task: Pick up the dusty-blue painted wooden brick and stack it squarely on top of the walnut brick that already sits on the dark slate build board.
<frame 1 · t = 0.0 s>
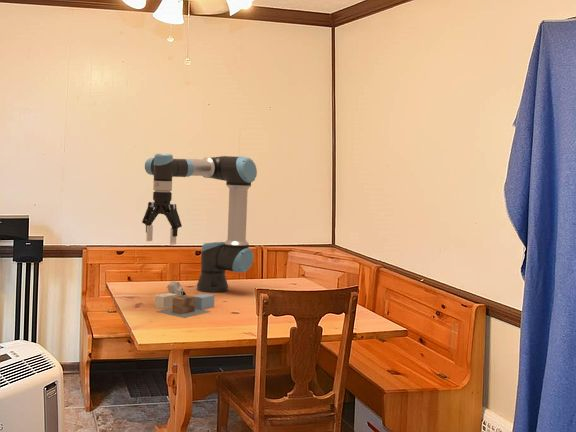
hand: (161, 242, 287), 28 cm above the table, fingers open, 13 cm apart
build board: (183, 313, 283), on the table
brick top: (203, 309, 293), on the table
toy: (175, 302, 305), on the table
brick base: (183, 311, 283), point 1 cm above the table, touching build board
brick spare: (165, 308, 291), on the table
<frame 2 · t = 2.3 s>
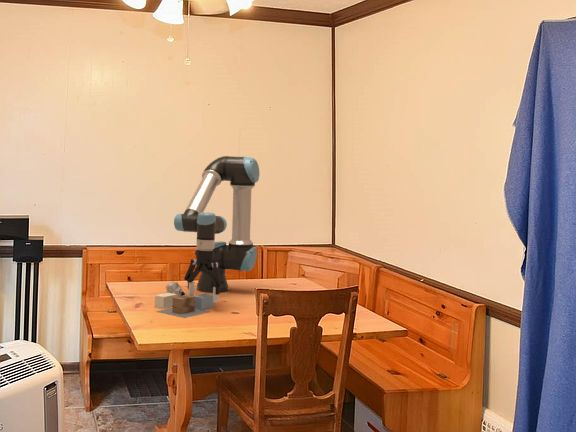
hand: (203, 299, 292), 4 cm above the table, fingers open, 13 cm apart
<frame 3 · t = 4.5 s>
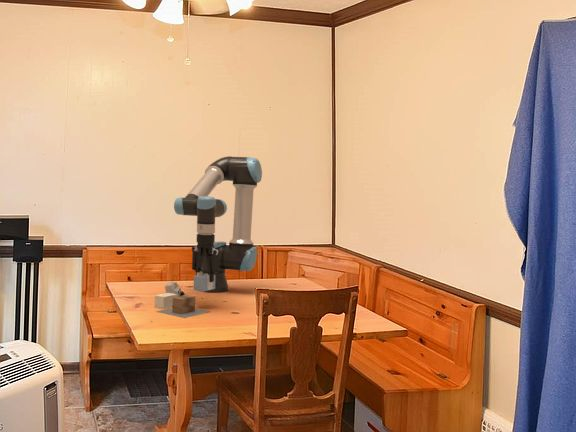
hand: (204, 288, 293), 9 cm above the table, fingers closed on brick top, 5 cm apart
brick top: (204, 289, 293), point 8 cm above the table, touching gripper
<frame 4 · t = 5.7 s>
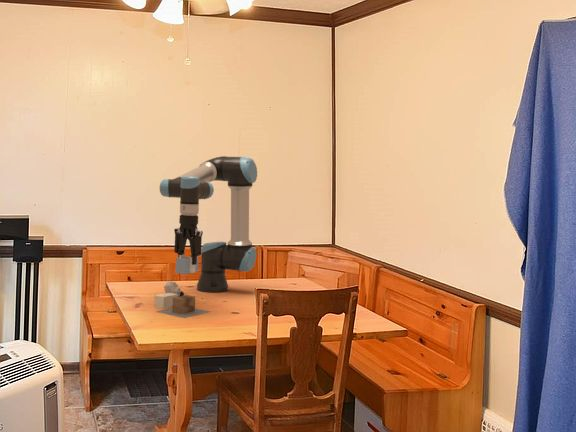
hand: (186, 271, 282), 17 cm above the table, fingers closed on brick top, 5 cm apart
brick top: (186, 272, 282), point 17 cm above the table, touching gripper
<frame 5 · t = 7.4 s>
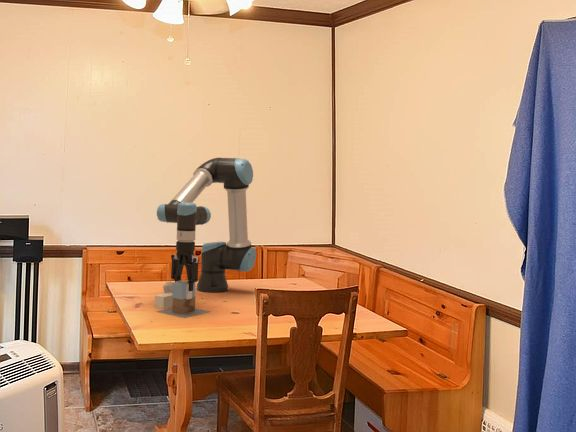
hand: (183, 297, 282), 7 cm above the table, fingers closed on brick top, 5 cm apart
brick top: (183, 297, 282), point 7 cm above the table, touching brick base, gripper
brick base: (183, 311, 283), point 1 cm above the table, touching brick top, build board
when the fingers open (7 cm above the table, at t = 7.4 s): brick top stays where it is, resting on brick base.
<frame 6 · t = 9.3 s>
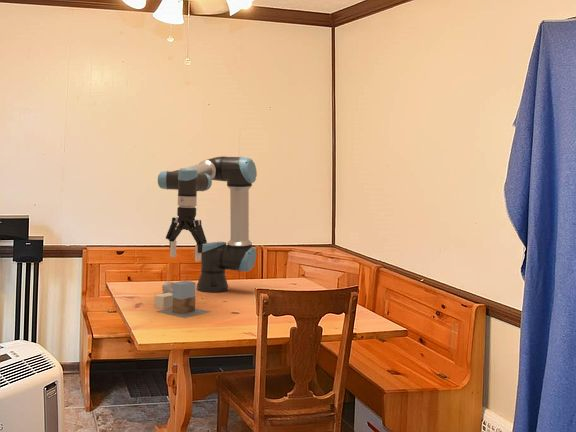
hand: (185, 259, 281), 23 cm above the table, fingers open, 13 cm apart
brick top: (183, 297, 282), point 7 cm above the table, touching brick base
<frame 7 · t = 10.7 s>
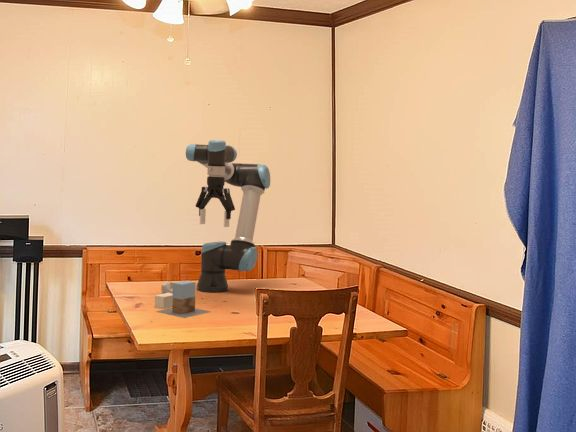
hand: (214, 225, 300), 35 cm above the table, fingers open, 13 cm apart
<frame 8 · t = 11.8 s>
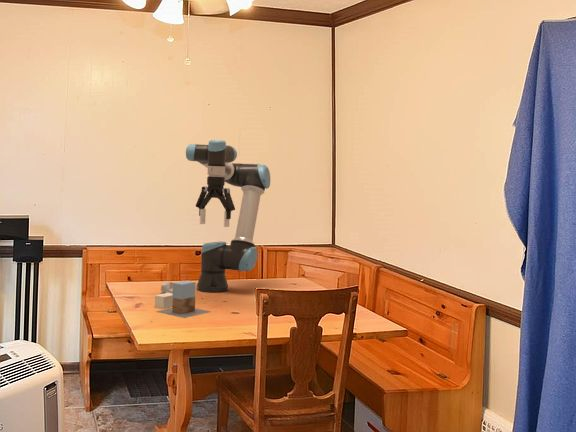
hand: (214, 225, 301), 35 cm above the table, fingers open, 13 cm apart
at the end: brick top 0.2 cm off-centre on the brick base, point 6.0 cm above the brick base's base; brick top tilted 0°; the gripper is holding nothing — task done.
